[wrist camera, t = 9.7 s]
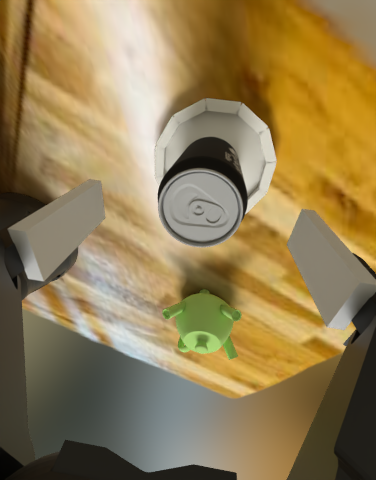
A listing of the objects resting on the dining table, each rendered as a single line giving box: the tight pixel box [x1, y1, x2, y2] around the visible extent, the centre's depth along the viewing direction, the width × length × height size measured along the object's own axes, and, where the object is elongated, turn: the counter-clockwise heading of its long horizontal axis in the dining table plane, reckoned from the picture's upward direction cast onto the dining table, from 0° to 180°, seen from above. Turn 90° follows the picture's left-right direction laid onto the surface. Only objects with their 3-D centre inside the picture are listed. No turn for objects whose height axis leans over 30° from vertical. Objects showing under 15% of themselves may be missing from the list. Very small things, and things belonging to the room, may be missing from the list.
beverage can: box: [158, 137, 248, 247], centre depth 19 cm, size 7×7×12 cm
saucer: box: [155, 98, 277, 214], centre depth 24 cm, size 13×13×2 cm
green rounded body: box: [162, 289, 241, 360], centre depth 34 cm, size 11×12×8 cm
